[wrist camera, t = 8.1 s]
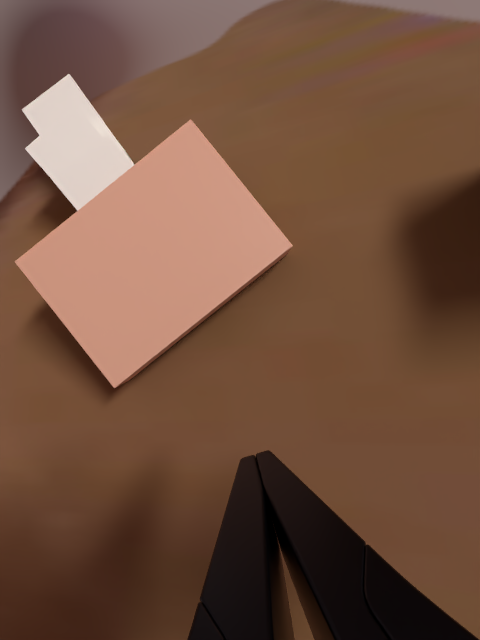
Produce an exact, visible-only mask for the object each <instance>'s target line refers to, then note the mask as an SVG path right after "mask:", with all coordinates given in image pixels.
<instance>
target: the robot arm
mask: <svg viewBox="0 0 480 640" xmlns="http://www.w3.org/2000/svg"><path fill="white" fill-rule="evenodd" d="M274 527H275V528H274ZM275 531H276V532H275ZM276 534H277V535H276ZM277 538H278V539H277ZM278 541H279V544H278ZM279 545H280V548H281V551H282V554H283V557H284V560H285V562H286V565H287V568H288V570H289V573H290V576H291V578H292V581H293V584H294V586H295V589H296V591H297V594H298V597H299V599H300V602H301V605H302V607H303V610H304V613H305V615H306V618H307V621H308V623H309V626H310V629H311V631H312V634H313V637H314V639H315V640H479V639H478V638H477V637H475V636H474V635H473V634H471V633H470V632H469V631H468V630H466V629H465V628H464V627H463V626H461V625H460V624H459V623H458V622H456V621H455V620H454V619H453V618H451V617H450V616H449V615H448V614H446V613H445V612H444V611H443V610H442V609H440V608H439V607H438V606H437V605H436V604H434V603H433V602H432V601H431V600H430V599H428V598H427V597H426V596H425V595H424V594H422V593H421V592H420V591H419V590H417V589H416V588H415V587H414V586H413V585H412V584H410V583H409V582H408V581H407V580H406V579H405V578H404V577H403V576H402V575H400V574H399V573H398V572H397V571H396V570H395V569H394V568H393V567H392V566H391V565H389V564H388V563H387V562H386V561H385V560H384V559H383V558H382V557H381V556H380V555H379V554H378V553H377V552H376V551H375V550H374V549H372V548H371V547H370V546H369V545H366V543H365V541H364V540H363V539H362V538H361V537H360V536H359V535H358V534H357V533H355V532H354V531H353V530H352V529H351V528H350V527H349V526H348V525H347V524H346V523H345V522H344V521H343V520H342V519H341V518H340V517H339V516H338V515H337V514H336V513H335V512H333V511H332V510H331V509H330V508H329V507H328V506H327V505H326V504H325V503H324V502H323V501H322V500H321V499H320V498H319V497H318V496H317V495H316V494H315V493H314V492H313V491H311V490H310V489H309V488H308V487H307V486H306V485H305V484H304V483H303V482H302V481H301V480H300V479H299V478H298V477H297V476H296V475H295V474H294V473H293V472H292V471H291V470H289V469H288V468H287V467H286V466H285V465H284V464H283V463H282V462H281V461H280V460H279V459H278V458H277V457H276V456H275V455H274V454H273V453H272V452H271V451H269V450H267V451H264V452H260V453H257V454H256V457H255V456H254V455H251V456H248V457H244V458H242V459H241V460H240V463H239V466H238V470H237V473H236V476H235V480H234V483H233V487H232V490H231V494H230V497H229V500H228V504H227V507H226V511H225V514H224V518H223V521H222V524H221V528H220V531H219V535H218V538H217V542H216V545H215V548H214V552H213V555H212V559H211V562H210V566H209V569H208V572H207V576H206V579H205V583H204V586H203V589H202V593H201V596H200V601H201V602H199V603H198V606H197V609H196V613H195V616H194V620H193V623H192V627H191V630H190V633H189V636H188V639H187V640H295V639H294V633H293V627H292V621H291V615H290V608H289V602H288V596H287V590H286V583H285V577H284V571H283V565H282V559H281V553H280V548H279Z"/></svg>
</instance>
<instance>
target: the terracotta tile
mask: <svg viewBox="0 0 480 640" xmlns="http://www.w3.org/2000/svg"><path fill="white" fill-rule="evenodd" d="M291 248H292V244H291V243H290V242H289V241H288V239H287V238H286V237H285V236H284V234H283V233H282V232H281V231H280V229H279V228H278V227H277V226H276V224H275V223H274V222H273V221H272V219H271V218H270V217H269V216H268V214H267V213H266V212H265V211H264V210H263V208H262V207H261V206H260V205H259V203H258V202H257V201H256V200H255V198H254V197H253V196H252V195H251V193H250V192H249V191H248V190H247V188H246V187H245V186H244V185H243V183H242V182H241V181H240V180H239V178H238V177H237V176H236V175H235V173H234V172H233V171H232V170H231V169H230V167H229V166H228V165H227V164H226V162H225V161H224V160H223V159H222V157H221V156H220V155H219V154H218V152H217V151H216V150H215V149H214V147H213V146H212V145H211V144H210V142H209V141H208V140H207V139H206V137H205V136H204V135H203V134H202V132H201V131H200V130H199V129H198V128H197V126H196V125H195V124H194V123H193V121H192V120H189V121H188V122H187V123H186V124H184V125H183V126H182V127H181V128H179V129H178V130H177V131H176V132H175V133H173V134H172V135H171V136H170V137H168V138H167V139H166V140H165V141H163V142H162V143H161V144H160V145H158V146H157V147H156V148H155V149H153V150H152V151H151V152H150V153H149V154H147V155H146V156H145V157H144V158H142V159H141V160H140V161H139V162H137V163H136V164H135V165H134V166H132V167H131V168H130V169H129V170H128V171H126V172H125V173H124V174H123V175H121V176H120V177H119V178H118V179H116V180H115V181H114V182H113V183H111V184H110V185H109V186H108V187H106V188H105V189H104V190H103V191H102V192H100V193H99V194H98V195H97V196H95V197H94V198H93V199H92V200H90V201H89V202H88V203H87V204H85V205H84V206H83V207H82V208H81V209H79V210H78V211H77V212H76V213H74V214H73V215H72V216H71V217H69V218H68V219H67V220H66V221H64V222H63V223H62V224H61V225H59V226H58V227H57V228H56V229H55V230H53V231H52V232H51V233H50V234H48V235H47V236H46V237H45V238H43V239H42V240H41V241H40V242H38V243H37V244H36V245H35V246H34V247H32V248H31V249H30V250H29V251H27V252H26V253H25V254H24V255H22V256H21V257H20V258H19V259H17V260H16V261H15V263H16V264H17V265H18V266H19V268H20V269H21V270H22V272H23V273H24V274H25V275H26V277H27V278H28V279H29V280H30V282H31V283H32V284H33V286H34V287H35V288H36V289H37V291H38V292H39V293H40V294H41V296H42V297H43V298H44V300H45V301H46V302H47V303H48V305H49V306H50V307H51V308H52V310H53V311H54V312H55V313H56V315H57V316H58V317H59V319H60V320H61V321H62V322H63V324H64V325H65V326H66V327H67V329H68V330H69V331H70V333H71V334H72V335H73V336H74V338H75V339H76V340H77V341H78V343H79V344H80V345H81V347H82V348H83V349H84V350H85V352H86V353H87V354H88V355H89V357H90V358H91V359H92V361H93V362H94V363H95V364H96V366H97V367H98V368H99V369H100V371H101V372H102V373H103V375H104V376H105V377H106V378H107V380H108V381H109V382H110V383H111V385H112V386H113V387H114V388H116V387H118V386H120V385H122V384H124V383H125V382H127V381H129V380H130V379H132V378H133V377H134V376H135V375H137V374H138V373H139V372H140V371H142V370H143V369H144V368H145V367H147V366H148V365H149V364H150V363H152V362H153V361H154V360H155V359H157V358H158V357H159V356H160V355H162V354H163V353H164V352H165V351H167V350H168V349H169V348H170V347H172V346H173V345H174V344H175V343H177V342H178V341H179V340H180V339H182V338H183V337H184V336H185V335H187V334H188V333H189V332H190V331H192V330H193V329H194V328H195V327H197V326H198V325H199V324H200V323H202V322H203V321H204V320H205V319H207V318H208V317H209V316H210V315H212V314H213V313H214V312H215V311H217V310H218V309H219V308H220V307H222V306H223V305H224V304H225V303H227V302H228V301H229V300H230V299H232V298H233V297H234V296H235V295H237V294H238V293H239V292H240V291H242V290H243V289H244V288H245V287H247V286H248V285H249V284H250V283H252V282H253V281H254V280H255V279H257V278H258V277H259V276H261V275H262V274H263V273H264V272H266V271H267V270H268V269H269V268H271V267H272V266H273V265H274V264H276V263H277V262H278V261H279V260H281V259H282V258H283V257H284V256H286V255H287V254H288V252H289V251H290V249H291Z"/></svg>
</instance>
